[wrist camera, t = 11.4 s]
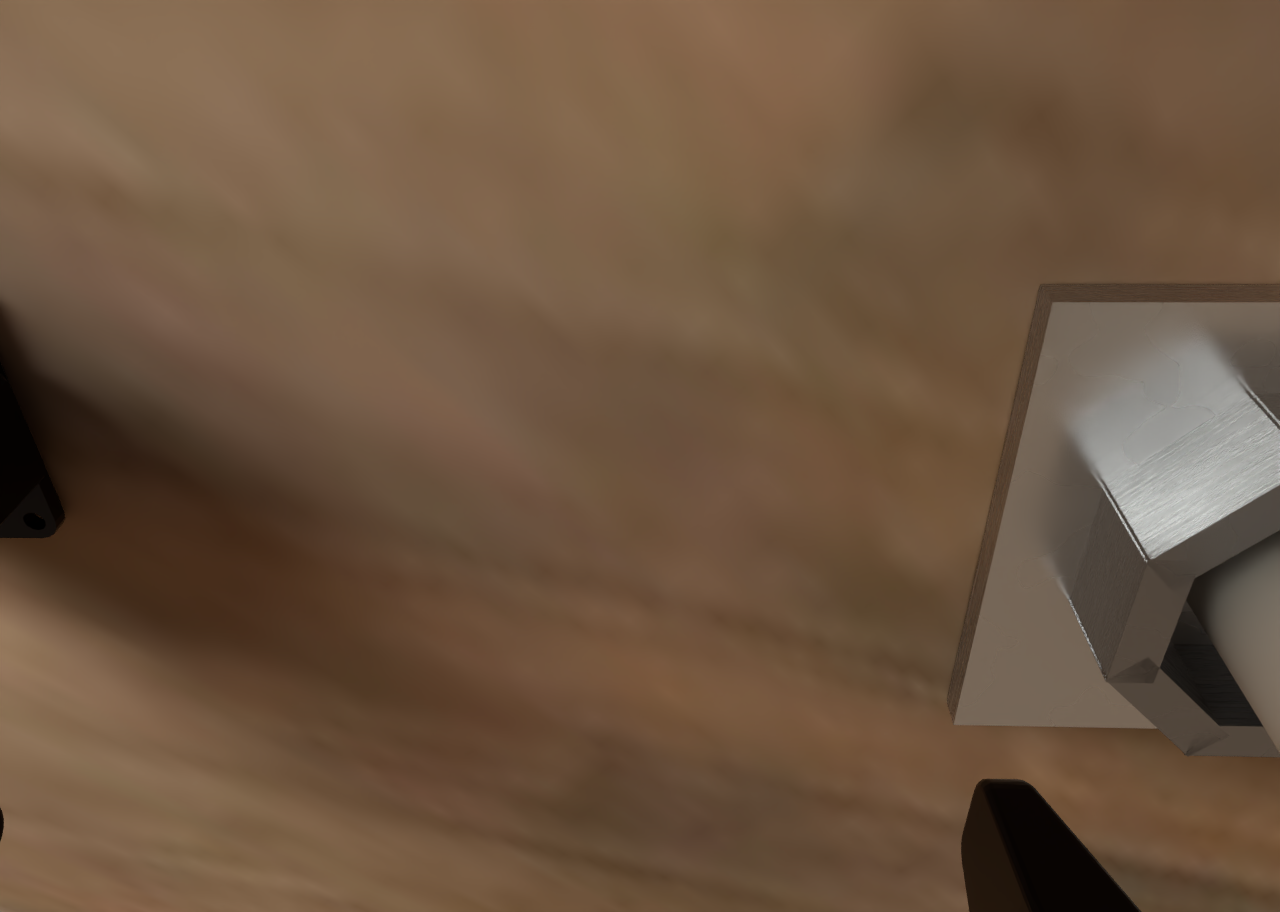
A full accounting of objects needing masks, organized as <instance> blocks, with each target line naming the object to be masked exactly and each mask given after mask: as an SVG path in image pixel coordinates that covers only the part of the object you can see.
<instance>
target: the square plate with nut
mask: <svg viewBox="0 0 1280 912" xmlns="http://www.w3.org/2000/svg"><path fill="white" fill-rule="evenodd" d="M1279 530H1280V285H1040V290H1039V294H1038V299H1037V303H1036V307H1035V312H1034V316H1033V321H1032V325H1031V330H1030V334H1029V339H1028V343H1027V347H1026V352H1025V356H1024V361H1023V365H1022V370H1021V374H1020V379H1019V383H1018V387H1017V392H1016V396H1015V401H1014V405H1013V410H1012V414H1011V419H1010V423H1009V427H1008V432H1007V436H1006V441H1005V445H1004V450H1003V454H1002V459H1001V463H1000V467H999V472H998V476H997V481H996V485H995V490H994V494H993V499H992V503H991V507H990V512H989V516H988V521H987V525H986V530H985V534H984V539H983V543H982V547H981V552H980V556H979V561H978V565H977V570H976V574H975V579H974V583H973V587H972V592H971V596H970V601H969V605H968V610H967V614H966V618H965V623H964V627H963V632H962V636H961V641H960V645H959V650H958V654H957V658H956V663H955V667H954V672H953V676H952V681H951V685H950V690H949V694H948V698H947V704H948V707H949V711H950V714H951V718H952V721H953V725H986V726H1042V727H1099V728H1155V729H1159V730H1160V731H1161V732H1162V733H1163V734H1164V735H1165V736H1166V737H1167V738H1169V739H1170V740H1171V741H1172V742H1173V743H1174V744H1175V745H1176V746H1177V747H1178V748H1179V749H1180V750H1181V751H1183V753H1184V755H1187V756H1243V757H1280V753H1279V751H1278V749H1277V748H1276V746H1275V745H1274V743H1273V741H1272V740H1271V738H1270V736H1269V735H1268V733H1267V732H1266V730H1265V728H1264V727H1263V725H1262V723H1261V722H1260V720H1259V718H1258V717H1257V715H1256V714H1255V712H1254V710H1253V709H1252V707H1251V705H1250V704H1249V702H1248V701H1247V699H1246V697H1245V696H1244V694H1243V692H1242V691H1241V689H1240V687H1239V686H1238V684H1237V683H1236V681H1235V679H1234V678H1233V676H1232V674H1231V673H1230V671H1229V670H1228V668H1227V666H1226V665H1225V663H1224V661H1223V660H1222V658H1221V656H1220V655H1219V653H1218V652H1217V650H1216V648H1215V647H1214V645H1213V643H1212V642H1211V640H1210V639H1209V637H1208V635H1207V634H1206V632H1205V630H1204V629H1203V627H1202V625H1201V624H1200V622H1199V621H1198V619H1197V617H1196V616H1195V614H1194V612H1193V611H1192V609H1191V608H1190V606H1189V604H1188V603H1187V601H1186V599H1187V596H1188V594H1189V591H1190V588H1191V586H1192V583H1193V581H1194V579H1195V578H1196V577H1198V576H1200V575H1202V574H1203V573H1205V572H1207V571H1209V570H1210V569H1212V568H1214V567H1216V566H1218V565H1219V564H1221V563H1223V562H1225V561H1226V560H1228V559H1230V558H1232V557H1233V556H1235V555H1237V554H1239V553H1240V552H1242V551H1244V550H1246V549H1248V548H1249V547H1251V546H1253V545H1255V544H1256V543H1258V542H1260V541H1262V540H1263V539H1265V538H1267V537H1269V536H1270V535H1272V534H1274V533H1276V532H1278V531H1279Z"/></svg>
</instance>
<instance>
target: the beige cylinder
mask: <svg viewBox="0 0 1280 912" xmlns="http://www.w3.org/2000/svg"><path fill="white" fill-rule="evenodd" d="M1186 601H1187V603H1188V604H1189V606H1190V608H1191V609H1192V611H1193V612H1194V614H1195V616H1196V617H1197V619H1198V621H1199V622H1200V624H1201V625H1202V627H1203V629H1204V630H1205V632H1206V634H1207V635H1208V637H1209V639H1210V640H1211V642H1212V643H1213V645H1214V647H1215V648H1216V650H1217V652H1218V653H1219V655H1220V656H1221V658H1222V660H1223V661H1224V663H1225V665H1226V666H1227V668H1228V670H1229V671H1230V673H1231V674H1232V676H1233V678H1234V679H1235V681H1236V683H1237V684H1238V686H1239V687H1240V689H1241V691H1242V692H1243V694H1244V696H1245V697H1246V699H1247V701H1248V702H1249V704H1250V705H1251V707H1252V709H1253V710H1254V712H1255V714H1256V715H1257V717H1258V718H1259V720H1260V722H1261V723H1262V725H1263V727H1264V728H1265V730H1266V732H1267V733H1268V735H1269V736H1270V738H1271V740H1272V741H1273V743H1274V745H1275V746H1276V748H1277V749H1278V751H1279V753H1280V530H1279V531H1278V532H1276V533H1274V534H1272V535H1270V536H1269V537H1267V538H1265V539H1263V540H1262V541H1260V542H1258V543H1256V544H1255V545H1253V546H1251V547H1249V548H1248V549H1246V550H1244V551H1242V552H1240V553H1239V554H1237V555H1235V556H1233V557H1232V558H1230V559H1228V560H1226V561H1225V562H1223V563H1221V564H1219V565H1218V566H1216V567H1214V568H1212V569H1210V570H1209V571H1207V572H1205V573H1203V574H1202V575H1200V576H1198V577H1196V578H1195V579H1194V581H1193V583H1192V586H1191V588H1190V591H1189V594H1188V596H1187V599H1186Z"/></svg>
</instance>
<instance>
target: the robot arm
mask: <svg viewBox="0 0 1280 912" xmlns="http://www.w3.org/2000/svg"><path fill="white" fill-rule="evenodd" d="M36 514H38V515H39V516H41V517H42V518H43V519H42V518H40V517H38V516H37V515H36ZM64 519H65V514H64V510H63V508H62V505H61V503H60V501H59V498H58V496H57V494H56V491H55V489H54V487H53V484H52V482H51V480H50V477H49V475H48V473H47V470H46V468H45V466H44V463H43V461H42V459H41V456H40V454H39V452H38V449H37V447H36V445H35V442H34V440H33V438H32V435H31V433H30V431H29V428H28V426H27V424H26V421H25V419H24V417H23V414H22V412H21V410H20V407H19V405H18V402H17V400H16V398H15V395H14V393H13V391H12V388H11V386H10V384H9V381H8V379H7V377H6V374H5V372H4V370H3V367H2V365H1V363H0V538H45V537H50V536H51V535H53V534H54V533H55V532H56V531H57V530H58V528H59V527H60V526H61V525H62V524H63V522H64ZM3 828H4V818H3V813H2V810H1V808H0V841H1V838H2V833H3ZM961 855H962V865H963V872H964V879H965V885H966V892H967V898H968V905H969V912H1141V911H1140V910H1139V908H1138V907H1137V906H1136V905H1135V904H1134V903H1133V901H1132V900H1131V899H1130V898H1129V897H1128V896H1127V894H1126V893H1125V892H1124V891H1123V890H1122V889H1121V888H1120V886H1119V885H1118V884H1117V883H1116V882H1115V881H1114V879H1113V878H1112V877H1111V876H1110V875H1109V874H1108V872H1107V871H1106V870H1105V869H1104V868H1103V867H1102V866H1101V864H1100V863H1099V862H1098V861H1097V860H1096V859H1095V857H1094V856H1093V855H1092V854H1091V853H1090V852H1089V850H1088V849H1087V848H1086V847H1085V846H1084V845H1083V844H1082V842H1081V841H1080V840H1079V839H1078V838H1077V837H1076V835H1075V834H1074V833H1073V832H1072V831H1071V830H1070V828H1069V827H1068V826H1067V825H1066V824H1065V823H1064V822H1063V820H1062V819H1061V818H1060V817H1059V816H1058V815H1057V813H1056V812H1055V811H1054V810H1053V809H1052V808H1051V806H1050V805H1049V804H1048V803H1047V802H1046V801H1045V799H1044V798H1043V797H1042V796H1041V795H1040V794H1039V793H1038V791H1037V790H1036V789H1035V788H1034V787H1033V786H1032V785H1030V784H1029V783H1027V782H1025V781H1023V780H1018V779H983V780H981V781H980V782H979V783H978V784H977V785H976V787H975V790H974V793H973V797H972V801H971V804H970V808H969V812H968V816H967V819H966V823H965V827H964V831H963V835H962V842H961Z"/></svg>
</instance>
